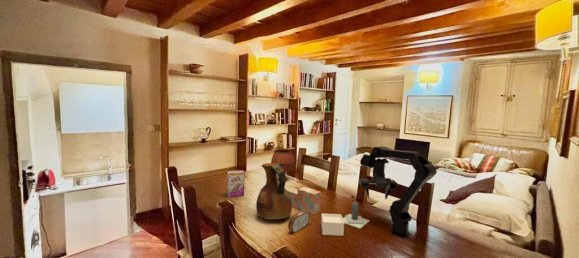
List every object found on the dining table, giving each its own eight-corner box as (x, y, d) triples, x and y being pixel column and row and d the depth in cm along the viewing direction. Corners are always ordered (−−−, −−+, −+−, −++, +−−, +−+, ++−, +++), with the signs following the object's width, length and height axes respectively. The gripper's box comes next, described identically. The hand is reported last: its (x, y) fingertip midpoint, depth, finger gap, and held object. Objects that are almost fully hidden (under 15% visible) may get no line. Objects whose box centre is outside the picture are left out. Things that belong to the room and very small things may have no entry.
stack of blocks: (285, 204, 159) (285, 185, 158) (291, 202, 164) (292, 183, 163) (313, 215, 146) (314, 194, 145) (319, 211, 151) (320, 191, 149)
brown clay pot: (268, 182, 203) (268, 151, 201) (273, 176, 222) (274, 147, 220) (292, 184, 200) (292, 152, 198) (295, 177, 219) (296, 148, 217)
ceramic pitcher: (275, 206, 156) (276, 158, 154) (299, 217, 142) (301, 164, 139) (248, 215, 143) (249, 162, 140) (272, 228, 128) (273, 169, 126)
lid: (360, 217, 143) (361, 200, 142) (363, 224, 134) (364, 206, 133) (345, 216, 143) (346, 199, 142) (348, 223, 135) (349, 205, 134)
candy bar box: (227, 197, 169) (227, 173, 167) (226, 195, 174) (226, 171, 172) (244, 196, 172) (244, 172, 171) (243, 193, 177) (243, 170, 176)
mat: (369, 220, 140) (369, 220, 140) (360, 228, 130) (360, 228, 130) (349, 214, 147) (349, 213, 147) (339, 221, 138) (339, 220, 138)
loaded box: (340, 225, 133) (341, 214, 132) (343, 235, 123) (344, 223, 122) (321, 224, 134) (321, 213, 133) (322, 234, 124) (322, 222, 123)
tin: (305, 222, 136) (305, 207, 135) (310, 224, 134) (310, 209, 133) (287, 233, 124) (287, 216, 123) (292, 235, 122) (292, 218, 121)
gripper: (364, 173, 128) (362, 203, 130) (402, 175, 127) (400, 205, 129) (359, 167, 139) (358, 195, 141) (394, 169, 138) (392, 197, 140)
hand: (377, 198), depth 137 cm, fingers open, 9 cm apart
